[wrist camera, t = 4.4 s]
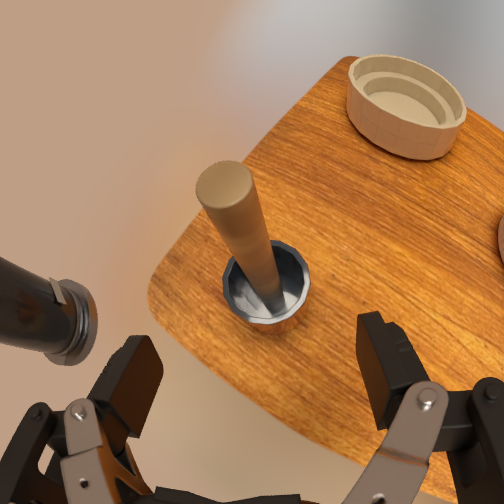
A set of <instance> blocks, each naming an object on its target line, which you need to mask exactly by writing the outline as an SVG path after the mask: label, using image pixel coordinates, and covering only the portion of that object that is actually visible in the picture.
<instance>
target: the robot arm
mask: <svg viewBox="0 0 504 504" xmlns="http://www.w3.org/2000/svg"><path fill="white" fill-rule="evenodd" d="M49 279H50V281H48V280H46V279H44V278H42V277H39V276H38V275H35V274H33V273H31V272H29V271H27V270H25V269H23V268H21V267H19V266H17V265H15V264H13V263H11V262H9V261H7V260H5V259H4V258H2V257H0V343H2V344H6V345H10V346H14V347H19V348H24V349H29V350H34V351H39V352H44V353H50V354H52V355H58V356H63V355H66V354H68V353H70V352H71V351H72V350H73V349H74V347H75V346H76V344H77V343H78V340H79V338H80V335H81V331H82V324H83V314H82V307H81V304H80V301H79V299H78V297H77V295H76V294H75V293H74V292H73V291H72V290H70V289H68V288H65V287H63V286H59V285H58V282H57V281H56V280H54V279H52V278H49ZM356 356H357V361H358V364H359V367H360V370H361V374H362V377H363V380H364V384H365V387H366V390H367V394H368V397H369V401H370V404H371V408H372V411H373V415H374V418H375V422H376V426H377V430H378V431H379V430H383V429H386V428H387V430H388V432H387V434H386V436H385V438H384V440H383V441H382V443H381V445H380V447H379V448H378V449H377V450H376V452H375V453H374V455H373V457H372V458H371V460H370V462H369V463H368V465H367V467H366V468H365V470H364V471H363V473H362V475H361V476H360V478H359V479H358V481H357V482H356V484H355V485H354V487H353V488H352V490H351V491H350V493H349V494H348V495H347V497H346V498H345V500H344V501H343V502H342V504H412V502H413V500H414V498H415V496H416V495H417V493H418V491H419V489H420V487H421V484H422V482H423V480H424V478H425V476H426V473H427V471H428V468H429V463H428V461H429V458H430V455H431V453H432V452H441V451H446V453H447V457H448V460H449V464H450V468H451V472H452V476H453V480H454V485H455V489H456V494H457V499H458V504H504V382H502V381H501V380H499V379H497V378H494V377H486V378H483V379H481V380H479V381H478V382H477V383H476V384H475V386H474V388H473V390H466V391H446V390H445V388H444V387H443V386H441V385H440V384H438V383H436V382H433V381H431V380H430V379H429V377H428V375H427V373H426V371H425V369H424V367H423V365H422V363H421V361H420V359H419V357H418V356H417V354H416V352H415V350H414V349H413V346H412V345H411V343H410V341H409V340H408V337H407V336H406V334H405V332H404V330H403V329H402V328H401V327H399V326H398V325H397V324H395V323H394V322H389V323H385V322H384V320H383V319H382V317H381V315H380V313H379V312H378V311H374V312H369V313H364V314H358V316H357V333H356ZM162 377H163V364H162V361H161V359H160V357H159V355H158V353H157V351H156V349H155V347H154V345H153V343H152V341H151V339H150V337H149V336H147V335H133V336H129V337H128V339H127V340H126V342H125V343H124V345H123V347H121V348H120V349H119V350H117V351H116V352H115V353H114V354H113V355H112V356H111V358H110V359H109V361H108V363H107V366H105V368H104V369H103V373H101V374H100V376H99V378H98V379H97V381H96V383H95V384H94V386H93V388H92V390H91V391H90V393H89V395H88V397H87V398H86V399H84V398H82V399H77V400H75V401H73V402H72V403H70V404H69V405H68V407H67V408H66V410H65V411H52V410H51V408H50V407H49V406H48V405H47V404H46V403H43V402H39V403H36V404H34V405H32V406H31V407H30V408H29V409H28V411H27V412H26V414H25V416H24V417H23V419H22V421H21V423H20V424H19V426H18V428H17V430H16V432H15V434H14V435H13V437H12V439H11V441H10V443H9V445H8V447H7V449H6V451H5V453H4V455H3V457H2V459H1V461H0V504H319V503H315V502H310V501H304V500H301V498H300V494H292V495H274V496H258V497H254V498H250V499H244V500H238V501H232V502H226V503H221V502H217V501H214V500H211V499H208V498H205V497H202V496H199V495H196V494H193V493H191V492H188V491H181V490H175V489H169V488H163V487H158V486H157V487H156V490H155V493H153V492H152V491H151V490H150V488H149V487H148V486H147V485H146V483H145V482H144V480H143V478H142V476H141V474H140V472H139V469H138V467H137V465H136V462H135V460H134V457H133V455H132V452H131V450H130V447H129V445H128V443H127V442H126V440H127V438H128V437H133V438H139V437H140V435H141V432H142V429H143V426H144V424H145V421H146V418H147V416H148V413H149V411H150V408H151V405H152V403H153V400H154V398H155V395H156V392H157V389H158V387H159V385H160V382H161V379H162ZM46 444H47V445H48V446H49V447H50V448H52V450H54V454H53V456H52V458H51V460H50V463H49V465H48V467H47V470H46V472H45V475H43V474H42V473H41V472H40V471H39V469H38V461H39V459H40V457H41V454H42V452H43V450H44V448H45V446H46Z"/></svg>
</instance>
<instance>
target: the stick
mask: <svg viewBox="0 0 504 504" xmlns="http://www.w3.org/2000/svg"><path fill="white" fill-rule="evenodd" d="M196 195H197V198H198V200H199V201H200V203H201V205H202V206H203V208H204V210H205V211H206V213H207V214H208V216H209V218H210V219H211V221H212V223H213V224H214V226H215V227H216V229H217V231H218V232H219V234H220V236H221V237H222V239H223V240H224V242H225V244H226V245H227V247H228V248H229V250H230V252H231V253H232V255H233V256H234V258H235V260H236V261H237V263H238V264H239V266H240V268H241V269H242V271H243V272H244V274H245V275H246V277H247V279H248V280H249V282H250V283H251V285H252V286H253V288H254V290H255V291H256V293H257V294H258V296H259V297H260V299H261V301H262V302H263V304H264V305H265V307H266V308H267V309H268V310H270V311H273V312H275V311H279V310H281V309H282V308H283V306H284V304H285V298H284V294H283V290H282V286H281V282H280V278H279V274H278V270H277V266H276V262H275V258H274V254H273V251H272V247H271V243H270V239H269V235H268V232H267V228H266V224H265V220H264V217H263V213H262V209H261V205H260V202H259V198H258V194H257V191H256V187H255V183H254V180H253V176H252V173H251V171H250V170H249V169H248V168H247V167H246V166H245V165H243V164H242V163H239V162H236V161H222V162H218V163H215V164H213V165H211V166H210V167H208V168H207V169H206V170H205V171H204V172H203V173H202V174H201V175H200V177H199V178H198V181H197V183H196Z"/></svg>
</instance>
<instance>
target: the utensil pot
mask: <svg viewBox="0 0 504 504" xmlns="http://www.w3.org/2000/svg"><path fill="white" fill-rule="evenodd" d="M270 243H271V247H272V251H273V254H274V258H275V262H276V266H277V270H278V274H279V278H280V282H281V286H282V290H283V294H284V298H285V304H284V306H283V308H282V309H281V310H279V311H275V312H273V311H270V310H268V309H267V308H266V307H265V305H264V304H263V302H262V301H261V299H260V297H259V296H258V294H257V293H256V291H255V290H254V288H253V286H252V285H251V283H250V282H249V280H248V279H247V277H246V275H245V274H244V272H243V271H242V269H241V268H240V266H239V264H238V263H237V261H236V260H235V258H234V256H232V257H231V258H230V260H229V262H228V264H227V267H226V269H225V272H224V274H223V277H222V281H223V295H224V298H225V299H226V301H227V303H228V304H229V306H230V308H231V309H232V311H233V312H234V313H235V314H236V315H237V316H239V317H240V318H242V319H243V320H244V321H246V322H247V323H248V324H250V325H251V326H253V327H254V328H256V329H258V330H259V331H261V332H262V333H267V334H282V333H285V332H288V331H290V330H292V329H293V328H295V327H296V326H297V325H298V324H299V323H300V322H301V320H302V319H303V318H304V315H305V313H306V309H307V306H308V301H309V293H310V285H311V282H310V276H309V270H308V265H307V263H306V262H305V260H304V259H303V258H302V256H301V255H300V254H299V252H298V251H297V250H296V249H295V248H293V247H291V246H289V245H287V244H285V243H283V242H281V241H276V240H270Z"/></svg>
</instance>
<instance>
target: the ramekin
mask: <svg viewBox="0 0 504 504" xmlns="http://www.w3.org/2000/svg"><path fill="white" fill-rule="evenodd" d="M498 244H499V250H500V254H501V258H502V261H503V263H504V215H503V216H502V219H501V220H500V224H499V229H498Z"/></svg>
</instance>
